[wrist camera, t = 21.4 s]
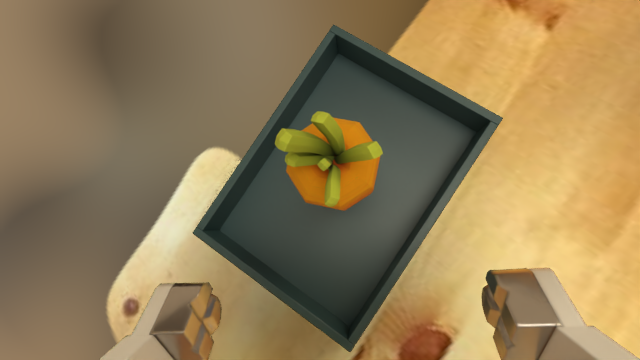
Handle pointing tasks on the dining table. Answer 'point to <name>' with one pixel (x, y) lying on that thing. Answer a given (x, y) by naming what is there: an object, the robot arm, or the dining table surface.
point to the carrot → (331, 161)
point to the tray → (368, 214)
